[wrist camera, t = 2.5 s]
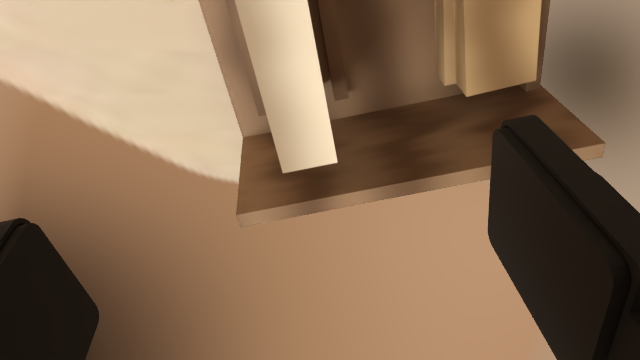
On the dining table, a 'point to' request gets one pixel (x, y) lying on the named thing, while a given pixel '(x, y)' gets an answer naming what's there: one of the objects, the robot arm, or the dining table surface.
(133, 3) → the dining table surface
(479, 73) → the offcut upper
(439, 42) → the offcut lower
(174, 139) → the dining table surface
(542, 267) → the robot arm
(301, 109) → the birch panel
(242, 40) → the rack
